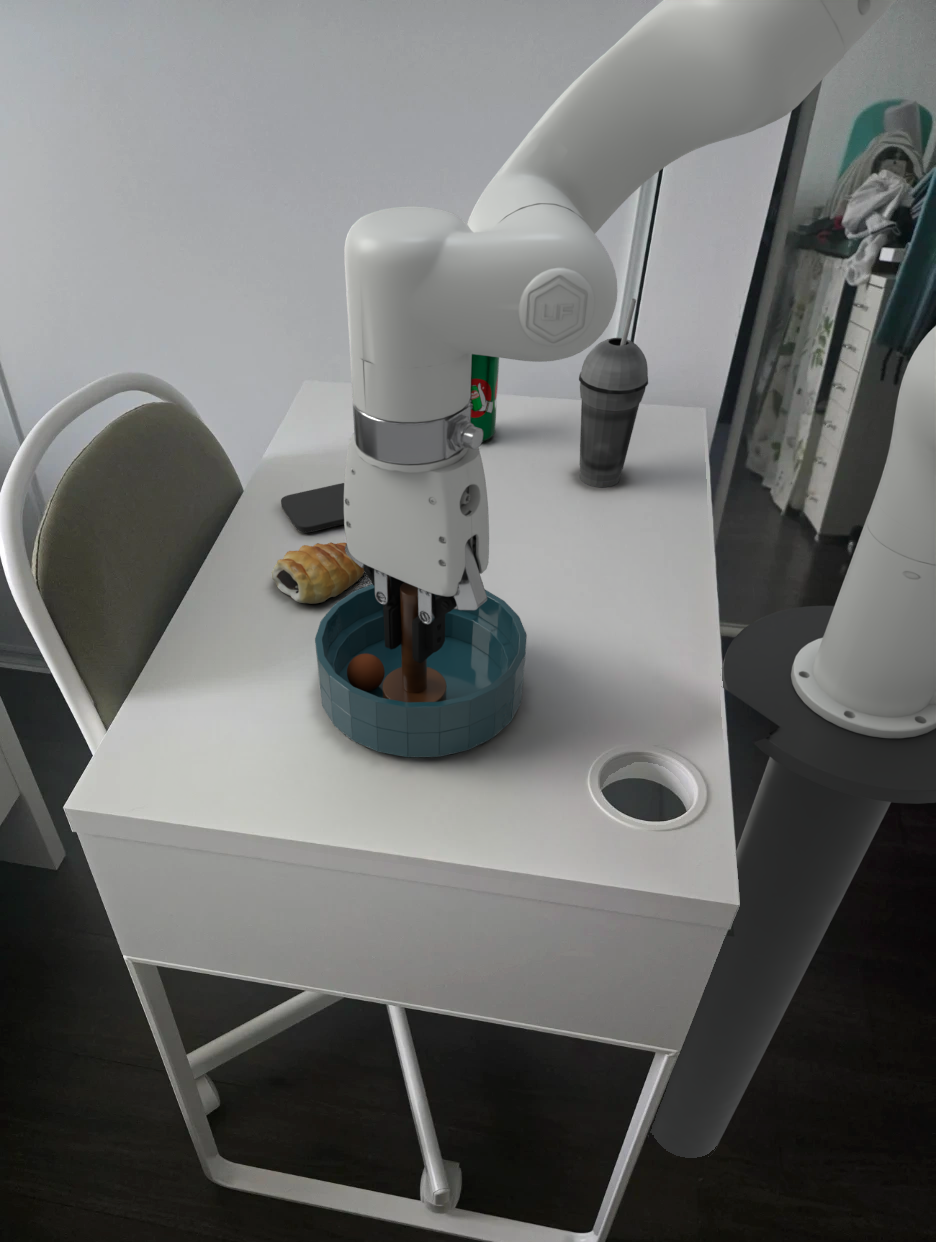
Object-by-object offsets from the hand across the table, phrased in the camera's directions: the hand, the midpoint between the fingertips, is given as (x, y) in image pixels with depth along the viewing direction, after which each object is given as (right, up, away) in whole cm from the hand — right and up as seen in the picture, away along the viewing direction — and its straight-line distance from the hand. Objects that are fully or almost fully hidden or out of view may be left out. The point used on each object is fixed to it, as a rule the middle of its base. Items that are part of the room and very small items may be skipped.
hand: (414, 645), depth 74 cm
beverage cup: (+22, +22, +34) cm, 46 cm away
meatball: (-4, -2, +6) cm, 8 cm away
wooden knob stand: (0, -5, +4) cm, 7 cm away
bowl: (+1, -3, +8) cm, 8 cm away
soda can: (+8, +29, +42) cm, 52 cm away
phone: (-6, +18, +30) cm, 36 cm away
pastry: (-9, +8, +20) cm, 23 cm away
